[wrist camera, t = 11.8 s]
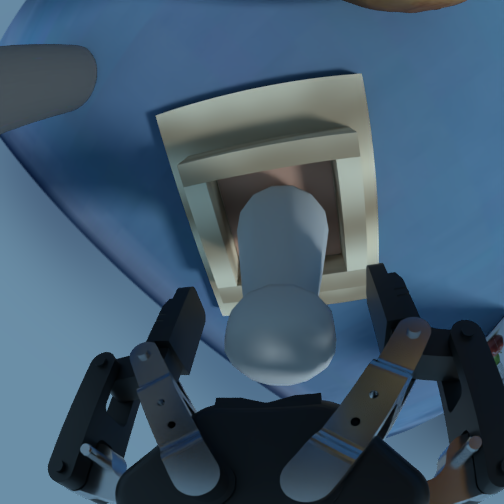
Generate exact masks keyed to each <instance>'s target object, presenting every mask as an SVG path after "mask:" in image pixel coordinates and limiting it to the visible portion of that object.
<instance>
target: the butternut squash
mask: <svg viewBox="0 0 504 504" xmlns="http://www.w3.org/2000/svg"><path fill="white" fill-rule="evenodd" d="M343 1H346V2H349V3H352V4H355V5H358V6H361V7H364V8H368V9H372V10H379V11H387V12H405V13H417V12H422V11H428V10H437V9H441V8H444V7H449V6H453V5H457V4H459V3H462V2H464V1H466V0H343Z"/></svg>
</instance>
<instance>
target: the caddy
mask: <svg viewBox="0 0 504 504" xmlns="http://www.w3.org/2000/svg"><path fill="white" fill-rule="evenodd" d="M156 119H157V122H158V126H159V129H160V133H161V136H162V139H163V143H164V146H165V149H166V153H167V156H168V159H169V162H170V166H171V169H172V172H173V175H174V178H175V182H176V185H177V188H178V191H179V194H180V197H181V200H182V203H183V206H184V209H185V212H186V215H187V218H188V221H189V224H190V227H191V230H192V233H193V236H194V239H195V241H196V244H197V247H198V250H199V253H200V256H201V258H202V261H203V264H204V267H205V270H206V272H207V275H208V278H209V281H210V283H211V286H212V289H213V291H214V294H215V297H216V299H217V302H218V305H219V307H220V310H221V313H222V315H223V316H230V313H231V310H232V309H233V308H234V307H235V306H236V305H237V304H238V302H239V301H240V300H241V299H242V298H243V293H242V282H241V271H240V260H239V248H238V236H237V228H238V222H239V217H240V212H241V211H242V209H243V208H244V206H245V205H246V204H247V202H248V201H249V200H250V198H251V197H252V196H253V195H254V194H255V193H258V192H260V191H262V190H264V189H266V188H268V187H270V186H283V185H293V186H295V187H297V188H299V189H302V190H304V191H306V192H308V193H310V194H312V196H313V197H314V198H315V199H316V200H317V202H318V203H319V204H320V205H321V206H322V208H323V209H324V211H325V214H326V219H327V224H328V229H329V231H328V238H327V246H326V253H325V260H324V267H323V274H322V280H321V286H320V293H319V297H320V298H321V300H322V301H323V302H324V303H325V304H334V303H341V302H347V301H354V300H360V299H367V297H366V266H367V265H371V264H378V263H379V235H378V206H377V189H376V175H375V164H374V154H373V145H372V136H371V128H370V121H369V114H368V107H367V101H366V95H365V89H364V83H363V78H362V74H350V75H339V76H329V77H321V78H313V79H305V80H298V81H292V82H286V83H280V84H274V85H269V86H264V87H259V88H254V89H249V90H245V91H240V92H236V93H232V94H227V95H223V96H219V97H215V98H212V99H208V100H204V101H201V102H197V103H194V104H190V105H187V106H183V107H180V108H177V109H174V110H171V111H168V112H165V113H162V114H159V115H156Z"/></svg>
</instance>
